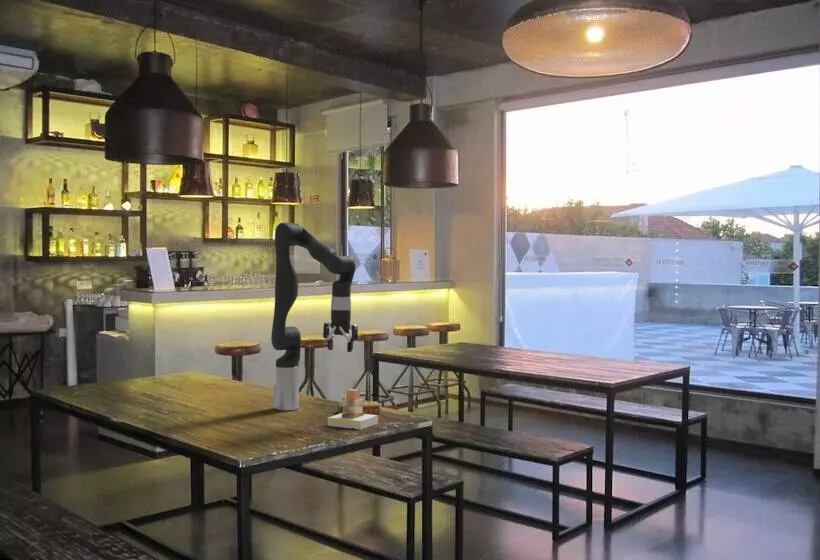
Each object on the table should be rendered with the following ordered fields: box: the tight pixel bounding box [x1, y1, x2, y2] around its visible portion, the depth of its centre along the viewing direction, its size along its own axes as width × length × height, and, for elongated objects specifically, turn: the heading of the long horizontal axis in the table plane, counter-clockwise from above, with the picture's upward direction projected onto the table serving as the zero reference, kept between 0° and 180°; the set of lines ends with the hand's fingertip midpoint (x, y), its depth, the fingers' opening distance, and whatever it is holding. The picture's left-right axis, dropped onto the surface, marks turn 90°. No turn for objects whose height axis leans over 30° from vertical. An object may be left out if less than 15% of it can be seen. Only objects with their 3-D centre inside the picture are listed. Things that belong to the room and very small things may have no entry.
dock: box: [327, 413, 379, 430], centre depth 283 cm, size 14×12×3 cm
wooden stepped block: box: [342, 398, 364, 419], centre depth 283 cm, size 5×7×6 cm
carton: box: [337, 400, 381, 415], centre depth 305 cm, size 8×16×4 cm, turn 99°
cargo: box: [346, 388, 361, 401], centre depth 283 cm, size 4×4×4 cm
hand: (340, 350), depth 293 cm, fingers open, 8 cm apart
